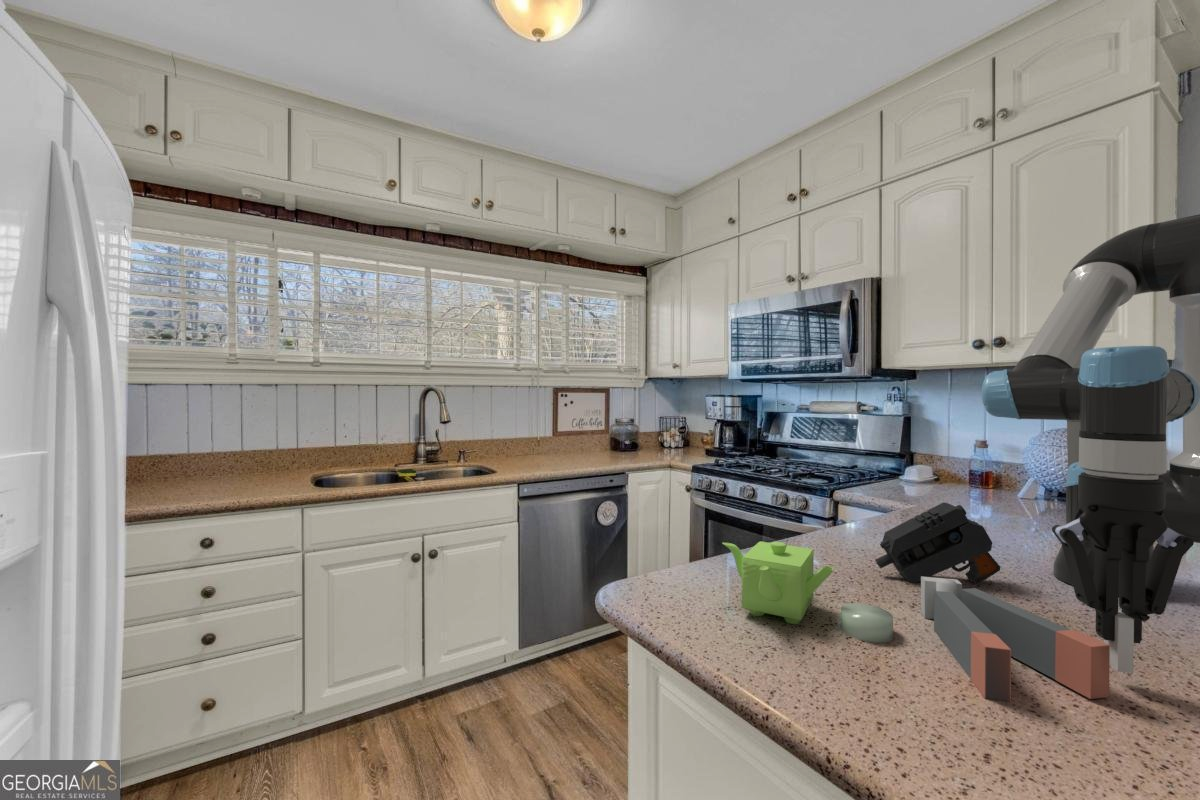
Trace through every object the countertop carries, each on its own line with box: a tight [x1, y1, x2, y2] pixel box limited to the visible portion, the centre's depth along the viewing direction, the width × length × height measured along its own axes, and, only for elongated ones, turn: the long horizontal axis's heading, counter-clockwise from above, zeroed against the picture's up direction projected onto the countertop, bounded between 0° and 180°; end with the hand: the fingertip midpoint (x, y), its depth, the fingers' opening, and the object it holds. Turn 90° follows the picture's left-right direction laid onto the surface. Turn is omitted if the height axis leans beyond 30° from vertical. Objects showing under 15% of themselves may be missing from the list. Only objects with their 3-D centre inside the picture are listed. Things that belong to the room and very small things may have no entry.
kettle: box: [721, 541, 835, 625], centre depth 85 cm, size 15×14×11 cm
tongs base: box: [920, 576, 1012, 703], centre depth 72 cm, size 24×5×7 cm, turn 164°
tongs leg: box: [961, 587, 1110, 700], centre depth 69 cm, size 18×3×6 cm, turn 9°
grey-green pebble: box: [840, 602, 894, 644], centre depth 78 cm, size 7×7×3 cm
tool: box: [874, 501, 1001, 586], centre depth 99 cm, size 6×19×15 cm, turn 78°
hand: (1117, 666), depth 63 cm, fingers closed
